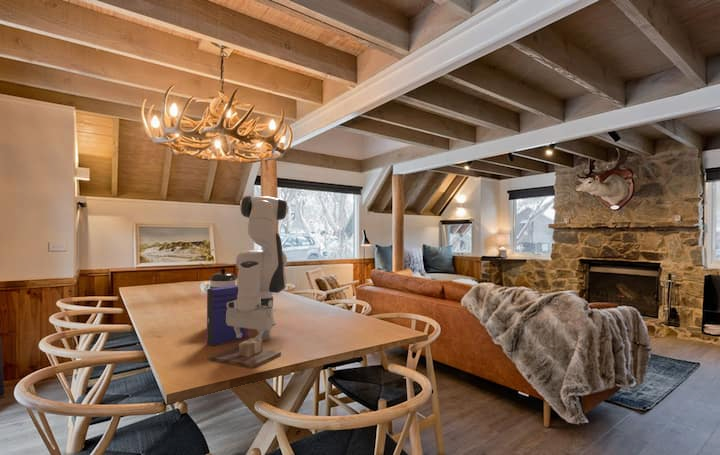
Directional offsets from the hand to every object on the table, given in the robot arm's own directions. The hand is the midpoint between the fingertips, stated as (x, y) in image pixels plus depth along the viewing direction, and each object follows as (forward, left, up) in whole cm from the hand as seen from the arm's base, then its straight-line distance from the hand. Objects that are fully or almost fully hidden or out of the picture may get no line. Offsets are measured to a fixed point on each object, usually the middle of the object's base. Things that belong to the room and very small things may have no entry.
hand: (248, 339), depth 144 cm
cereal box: (-23, +13, -7) cm, 27 cm away
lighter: (-11, +21, -7) cm, 25 cm away
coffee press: (-43, +31, -7) cm, 53 cm away
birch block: (0, -3, -3) cm, 4 cm away
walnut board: (-1, -1, -7) cm, 7 cm away
